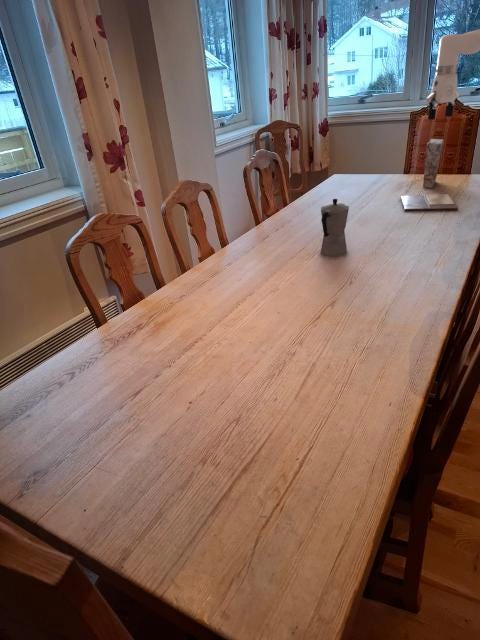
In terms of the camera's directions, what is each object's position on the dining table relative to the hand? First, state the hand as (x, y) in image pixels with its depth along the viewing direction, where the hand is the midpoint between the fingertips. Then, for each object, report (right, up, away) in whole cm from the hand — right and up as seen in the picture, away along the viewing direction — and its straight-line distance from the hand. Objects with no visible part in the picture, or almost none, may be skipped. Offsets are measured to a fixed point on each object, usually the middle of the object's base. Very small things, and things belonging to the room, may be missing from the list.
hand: (439, 117), depth 181 cm
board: (-5, -36, +2) cm, 36 cm away
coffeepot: (-53, -63, -35) cm, 89 cm away
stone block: (+7, -20, +27) cm, 34 cm away
